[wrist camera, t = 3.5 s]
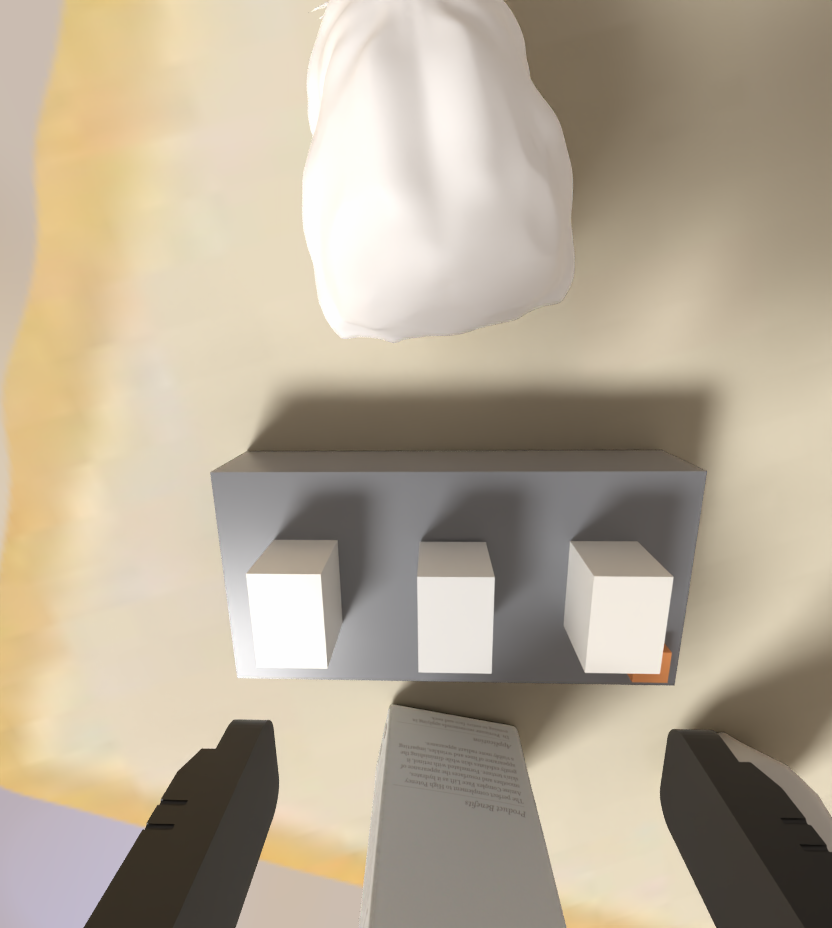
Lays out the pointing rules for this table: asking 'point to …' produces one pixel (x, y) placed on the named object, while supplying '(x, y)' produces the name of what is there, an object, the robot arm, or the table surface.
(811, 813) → the salt shaker
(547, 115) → the whiskered white figurine
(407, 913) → the skincare box
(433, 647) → the block
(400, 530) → the panel
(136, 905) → the robot arm
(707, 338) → the table surface
